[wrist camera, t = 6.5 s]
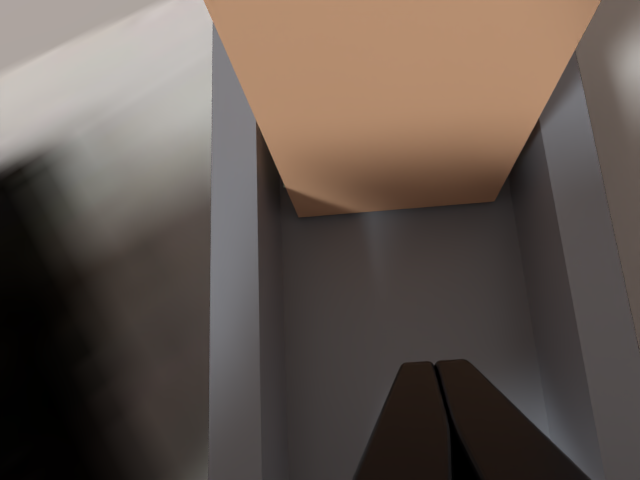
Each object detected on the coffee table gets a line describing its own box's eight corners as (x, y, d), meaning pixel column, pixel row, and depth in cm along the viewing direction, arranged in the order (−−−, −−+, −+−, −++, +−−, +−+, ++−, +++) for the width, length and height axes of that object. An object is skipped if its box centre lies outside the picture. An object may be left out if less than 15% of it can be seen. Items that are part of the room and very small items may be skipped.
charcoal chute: (628, 700, 12) (742, 834, 8) (258, 701, 13) (205, 827, 9) (517, 70, 17) (557, -32, 13) (250, 97, 17) (212, 8, 13)
